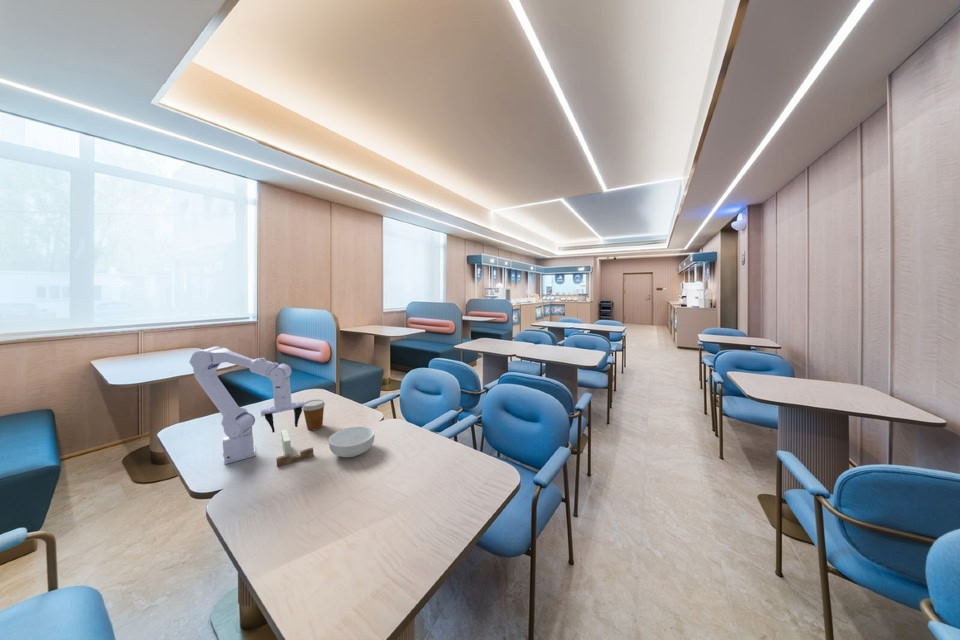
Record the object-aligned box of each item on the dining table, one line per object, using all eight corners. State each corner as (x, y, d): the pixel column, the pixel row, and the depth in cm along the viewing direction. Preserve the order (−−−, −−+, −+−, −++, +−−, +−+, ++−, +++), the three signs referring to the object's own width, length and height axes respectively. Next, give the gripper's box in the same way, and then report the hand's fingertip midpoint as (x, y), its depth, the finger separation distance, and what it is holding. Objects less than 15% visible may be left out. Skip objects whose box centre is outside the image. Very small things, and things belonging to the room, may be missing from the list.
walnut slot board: (277, 467, 115) (276, 459, 115) (276, 465, 116) (276, 457, 116) (313, 456, 122) (313, 448, 122) (313, 454, 123) (312, 447, 123)
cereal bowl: (359, 466, 115) (358, 448, 114) (319, 461, 118) (318, 443, 117) (382, 443, 131) (382, 427, 131) (347, 440, 135) (346, 424, 134)
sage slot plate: (291, 457, 121) (290, 440, 120) (285, 459, 120) (284, 441, 119) (288, 445, 131) (286, 429, 130) (282, 446, 130) (281, 430, 129)
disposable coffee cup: (319, 432, 142) (318, 406, 141) (298, 432, 142) (297, 406, 141) (330, 422, 152) (328, 399, 150) (310, 422, 152) (308, 399, 151)
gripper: (260, 402, 115) (263, 438, 117) (304, 394, 124) (307, 427, 125) (259, 397, 121) (262, 431, 122) (302, 389, 130) (304, 421, 131)
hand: (285, 428), depth 124 cm, fingers open, 7 cm apart
